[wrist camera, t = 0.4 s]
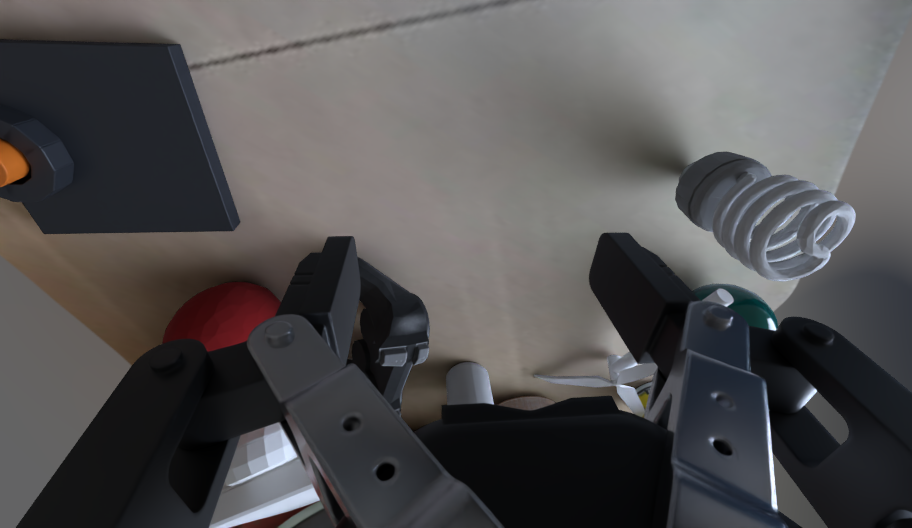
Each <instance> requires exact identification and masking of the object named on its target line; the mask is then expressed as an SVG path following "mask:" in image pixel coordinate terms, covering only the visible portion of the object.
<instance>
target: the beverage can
mask: <svg viewBox="0 0 912 528" xmlns="http://www.w3.org/2000/svg"><path fill="white" fill-rule="evenodd" d="M446 389H447V404H448V405H456V404H474V403H488V404H494V402H493V397H492V392H491V387H490V381H489V376H488V372H487V371H486V369H485V368H484V367H482V366H481V365H479V364H477V363H473V362H464V363H460V364H457V365H455V366H454V367H452V368H451V369H450V371H449V372H448V373H447V375H446Z"/></svg>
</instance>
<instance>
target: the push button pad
mask: <svg viewBox="0 0 912 528" xmlns="http://www.w3.org/2000/svg"><path fill="white" fill-rule="evenodd" d="M0 139H2V140H5V141H7V142H9V143H10V144H12V145H13V146H15V147H16V148H17V149H18V150H20V151H21V152H22V153H23V154H24V156H25V157H26V159H27V160H28V163H29V167H30V169H29V173H28V174H27V175H26V176H25V177H23V178H21V179H19V180H16V181H14V182H12V183H10V184H7V185H5V186H3V187H0V197H1V198H4V199H7V200H10V201H13V202H22V203H23V205H24V206H25V208H26V209H27V210H28V212H29V213H30V215H31V216H32V218H33V219H34V220H35V222H36V223H37V225H38V226H39V228H40V229H41V231H42V232H43V233H44V234H77V233H140V232H204V231H234V230H235V228H236V227H237V226H238V225H239V223H240V220H239V217H238V214H237V211H236V208H235V205H234V202H233V199H232V196H231V193H230V190H229V187H228V184H227V181H226V178H225V175H224V172H223V169H222V166H221V163H220V161H219V158H218V155H217V152H216V149H215V146H214V143H213V140H212V137H211V134H210V131H209V128H208V125H207V122H206V119H205V116H204V113H203V110H202V107H201V104H200V101H199V99H198V96H197V93H196V90H195V87H194V84H193V81H192V78H191V75H190V72H189V69H188V66H187V63H186V60H185V57H184V54H183V51H182V48H181V45H180V44H155V43H118V42H80V41H43V40H6V39H0Z"/></svg>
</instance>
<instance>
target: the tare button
mask: <svg viewBox="0 0 912 528" xmlns="http://www.w3.org/2000/svg"><path fill="white" fill-rule="evenodd" d="M29 169H30V167H29V163H28V160H27V159H26V157H25V156H24V154H23V153H22V152H21V151H20V150H18V149H17V148H16V147H15V146H13V145H12V144H10V143H9V142H7V141H5V140H2V139H0V187H3V186H5V185H7V184H10V183H12V182H14V181H16V180H19V179H21V178H23V177H25V176H26V175H27V174H28V173H29Z"/></svg>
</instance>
